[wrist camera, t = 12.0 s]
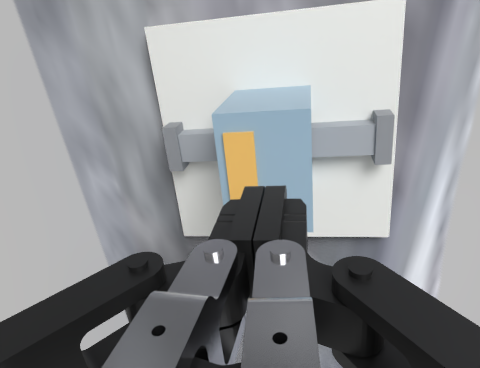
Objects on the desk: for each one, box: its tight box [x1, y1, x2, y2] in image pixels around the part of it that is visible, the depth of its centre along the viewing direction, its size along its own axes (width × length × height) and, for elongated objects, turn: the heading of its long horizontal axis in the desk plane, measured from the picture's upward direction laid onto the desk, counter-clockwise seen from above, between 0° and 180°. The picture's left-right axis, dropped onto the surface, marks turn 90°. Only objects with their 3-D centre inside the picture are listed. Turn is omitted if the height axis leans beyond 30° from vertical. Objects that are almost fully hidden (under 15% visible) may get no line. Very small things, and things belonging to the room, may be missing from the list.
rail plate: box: [144, 0, 406, 237], centre depth 25 cm, size 16×16×2 cm
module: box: [212, 85, 313, 232], centre depth 22 cm, size 7×5×7 cm
